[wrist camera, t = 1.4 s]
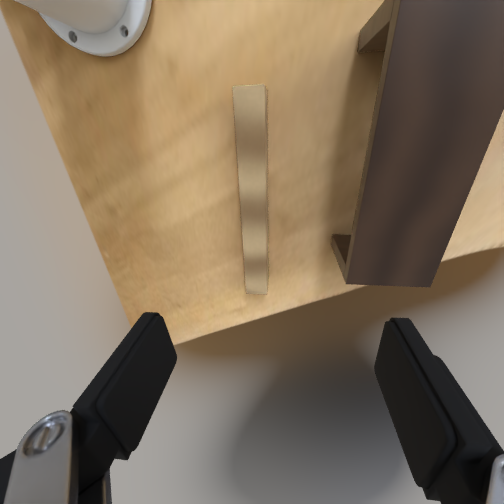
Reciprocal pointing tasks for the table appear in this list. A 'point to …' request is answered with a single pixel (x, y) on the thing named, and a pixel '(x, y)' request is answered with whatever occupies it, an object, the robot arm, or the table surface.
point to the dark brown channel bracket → (423, 134)
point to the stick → (253, 181)
